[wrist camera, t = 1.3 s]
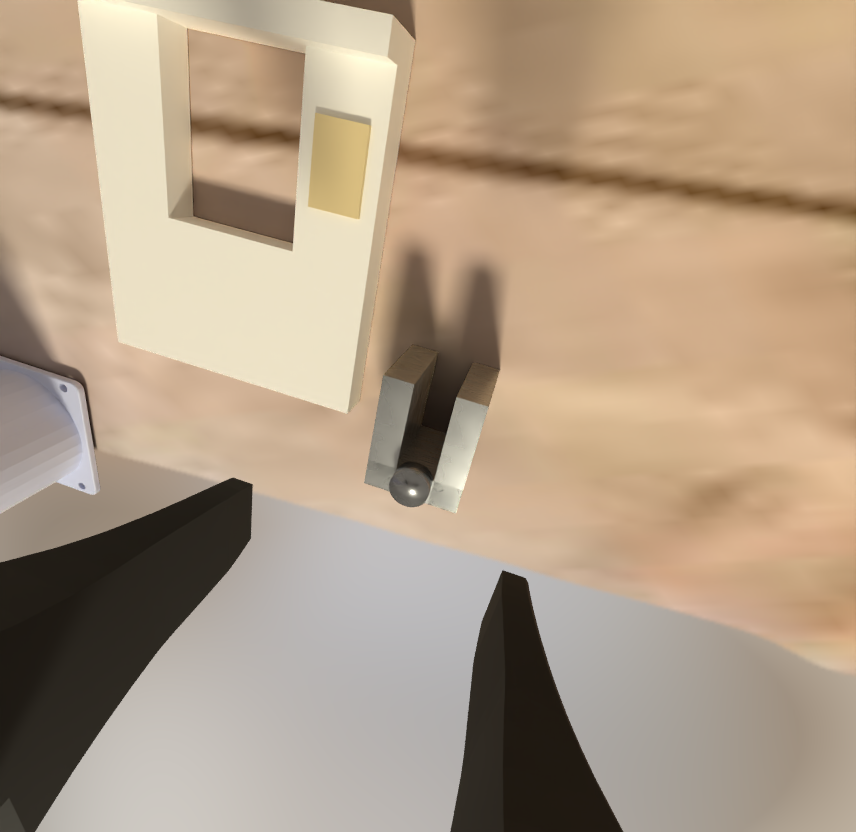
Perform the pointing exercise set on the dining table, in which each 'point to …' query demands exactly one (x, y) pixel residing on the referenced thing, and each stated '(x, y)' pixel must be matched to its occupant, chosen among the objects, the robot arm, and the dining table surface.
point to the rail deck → (231, 247)
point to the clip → (426, 433)
